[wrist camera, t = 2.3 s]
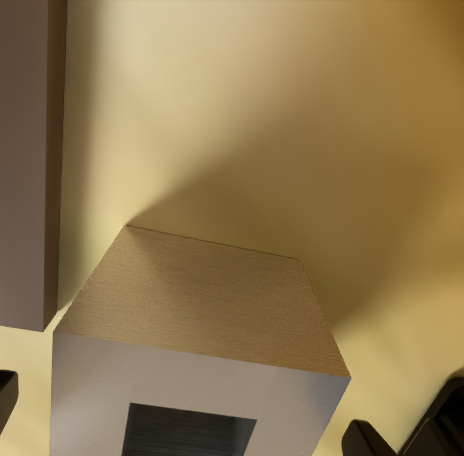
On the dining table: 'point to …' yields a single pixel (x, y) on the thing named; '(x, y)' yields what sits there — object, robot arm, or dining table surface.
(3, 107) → the post base
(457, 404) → the robot arm
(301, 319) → the grey block
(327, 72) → the dining table surface
